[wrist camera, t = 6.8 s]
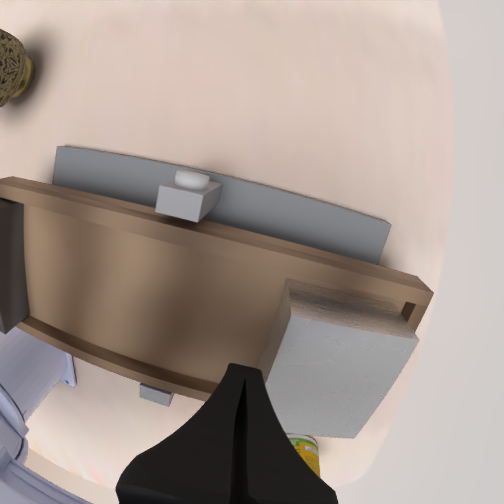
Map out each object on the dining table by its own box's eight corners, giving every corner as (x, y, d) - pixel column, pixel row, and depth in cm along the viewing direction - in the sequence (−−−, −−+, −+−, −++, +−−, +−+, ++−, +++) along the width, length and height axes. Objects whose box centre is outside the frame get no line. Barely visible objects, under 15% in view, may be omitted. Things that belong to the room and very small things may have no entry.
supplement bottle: (300, 425, 24) (304, 514, 15) (326, 448, 26) (334, 526, 16) (253, 443, 26) (246, 524, 17) (282, 463, 27) (281, 537, 18)
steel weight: (251, 382, 17) (247, 426, 13) (286, 278, 14) (291, 315, 11) (343, 396, 17) (353, 438, 13) (393, 303, 15) (419, 340, 11)
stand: (59, 311, 22) (20, 346, 17) (65, 143, 18) (8, 146, 12) (315, 386, 23) (323, 442, 17) (387, 218, 18) (429, 246, 12)
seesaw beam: (17, 305, 18) (-15, 331, 14) (12, 176, 15) (-33, 187, 11) (350, 401, 18) (362, 447, 14) (416, 276, 15) (452, 311, 11)
